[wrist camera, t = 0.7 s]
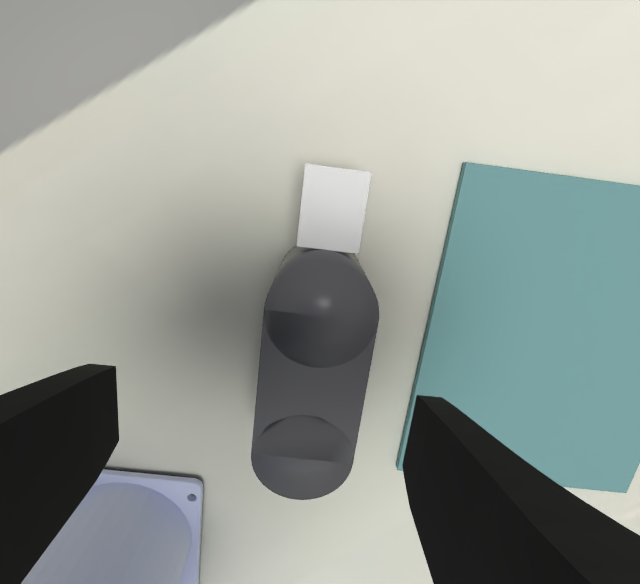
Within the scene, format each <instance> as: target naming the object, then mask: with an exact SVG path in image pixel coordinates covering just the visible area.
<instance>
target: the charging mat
mask: <svg viewBox="0 0 640 584" xmlns="http://www.w3.org/2000/svg"><path fill="white" fill-rule="evenodd" d="M417 395H423V396H434V397H442V398H444V399H445V400H447V401H448V402H450V403H451V404H452V405H454V406H455V407H456V408H458V409H459V410H460V411H462V412H463V413H464V414H466V415H467V416H468V417H469V418H471V419H472V420H473V421H474V422H476V423H477V424H478V425H480V426H481V427H482V428H483V429H485V430H486V431H487V432H488V433H490V434H491V435H492V436H494V437H495V438H496V439H497V440H499V441H500V442H501V443H503V444H504V445H505V446H506V447H508V448H509V449H510V450H512V451H513V452H514V453H516V454H517V455H518V456H520V457H521V458H522V459H524V460H525V461H526V462H528V463H529V464H531V465H532V466H533V467H535V468H536V469H537V470H539V471H540V472H542V473H543V474H545V475H546V476H547V477H549V478H550V479H552V480H553V481H555V482H556V483H557V484H559V485H560V486H562V487H570V488H580V489H590V490H600V491H610V492H620V493H627V490H628V488H629V486H630V483H631V481H632V479H633V477H634V474H635V472H636V470H637V468H638V465H639V463H640V186H637V185H630V184H622V183H615V182H607V181H600V180H593V179H585V178H578V177H571V176H563V175H556V174H548V173H541V172H534V171H526V170H519V169H512V168H504V167H497V166H489V165H482V164H475V163H467V162H466V163H463V165H462V170H461V174H460V179H459V183H458V188H457V192H456V197H455V201H454V206H453V210H452V215H451V220H450V224H449V229H448V233H447V238H446V242H445V247H444V251H443V256H442V260H441V265H440V269H439V274H438V278H437V283H436V287H435V292H434V296H433V301H432V305H431V310H430V314H429V319H428V323H427V328H426V332H425V337H424V341H423V346H422V350H421V355H420V360H419V364H418V369H417V373H416V378H415V382H414V387H413V391H412V396H411V400H410V405H409V409H408V414H407V418H406V423H405V427H404V432H403V436H402V441H401V445H400V450H399V454H398V459H397V463H396V466H397V470H400V471H403V466H402V464H403V459H404V454H405V449H406V445H407V440H408V435H409V430H410V425H411V421H412V416H413V411H414V406H415V401H416V396H417Z"/></svg>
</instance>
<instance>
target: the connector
mask: <svg viewBox="0 0 640 584" xmlns="http://www.w3.org/2000/svg"><path fill="white" fill-rule="evenodd" d="M371 173H372V172H367V171H359V170H352V169H344V168H337V167H329V166H321V165H314V164H306V163H305V171H304V180H303V189H302V199H301V208H300V217H299V226H298V235H297V245H296V246H295V247H293V248H292V249H291V250H290V251H289V252H288V253H287V255H286V256H285V258H284V259H283V261H282V263H281V266H280V268H279V270H278V272H277V275H276V277H275V279H274V282H273V284H272V286H271V288H270V291H269V293H268V295H267V298H266V302H265V307H264V316H263V328H262V339H261V350H260V362H259V373H258V384H257V396H256V407H255V418H254V429H253V441H252V452H251V461H252V466H253V469H254V472H255V474H256V476H257V477H258V479H259V480H260V481H261V482H262V484H263V485H264V486H266V487H267V488H268V489H269V490H271V491H272V492H274V493H276V494H278V495H281V496H283V497H287V498H290V499H297V500H307V499H315V498H319V497H322V496H325V495H327V494H329V493H331V492H333V491H334V490H336V489H337V488H338V487H339V486H340V485H342V484H343V482H344V481H345V480H346V479H347V477H348V475H349V473H350V471H351V468H352V465H353V459H354V454H355V448H356V443H357V437H358V432H359V426H360V421H361V415H362V410H363V404H364V399H365V393H366V388H367V382H368V377H369V371H370V366H371V360H372V355H373V349H374V344H375V338H376V333H377V327H378V321H379V306H378V301H377V298H376V295H375V293H374V291H373V288H372V287H371V285H370V283H369V281H368V279H367V277H366V275H365V273H364V271H363V269H362V267H361V265H360V263H359V261H358V259H357V258H356V256H355V255H354V253H356V254H359V249H360V243H361V236H362V230H363V224H364V217H365V211H366V205H367V198H368V192H369V185H370V179H371Z"/></svg>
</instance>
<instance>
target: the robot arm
mask: <svg viewBox="0 0 640 584" xmlns="http://www.w3.org/2000/svg"><path fill="white" fill-rule="evenodd" d="M118 441H119V428H118V406H117V383H116V366H107V365H97V364H87V365H83V366H79V367H76V368H73V369H70V370H67V371H64V372H61V373H58V374H56V375H53V376H50V377H47V378H45V379H42V380H39V381H37V382H34V383H31V384H29V385H26V386H24V387H21V388H18V389H16V390H13V391H10V392H8V393H5V394H2V395H0V584H199V566H200V545H201V523H202V501H203V483H202V482H201V481H200V480H199V479H196V478H187V477H177V476H167V475H156V474H146V473H136V472H125V471H115V470H105V469H104V467H105V465H106V463H107V462H108V460H109V458H110V456H111V454H112V452H113V450H114V449H115V447H116V445H117V443H118ZM402 466H403V472H404V478H405V484H406V489H407V495H408V500H409V505H410V509H411V512H412V515H413V519H414V522H415V525H416V529H417V532H418V535H419V538H420V542H421V545H422V548H423V551H424V554H425V557H426V561H427V564H428V567H429V570H430V573H431V576H432V580H433V583H434V584H640V536H639V535H638V534H636V533H634V532H633V531H631V530H629V529H627V528H626V527H624V526H623V525H621V524H619V523H618V522H616V521H615V520H613V519H611V518H610V517H608V516H607V515H605V514H603V513H602V512H600V511H599V510H597V509H595V508H594V507H592V506H590V505H589V504H587V503H586V502H584V501H583V500H581V499H580V498H578V497H577V496H575V495H574V494H572V493H570V492H569V491H567V490H566V489H565V488H563V487H562V486H560V485H559V484H557V483H556V482H555V481H553V480H552V479H550V478H549V477H547V476H546V475H545V474H543V473H542V472H540V471H539V470H537V469H536V468H535V467H533V466H532V465H531V464H529V463H528V462H526V461H525V460H524V459H522V458H521V457H520V456H518V455H517V454H516V453H514V452H513V451H512V450H510V449H509V448H508V447H506V446H505V445H504V444H503V443H501V442H500V441H499V440H497V439H496V438H495V437H494V436H492V435H491V434H490V433H488V432H487V431H486V430H485V429H483V428H482V427H481V426H480V425H478V424H477V423H476V422H474V421H473V420H472V419H471V418H469V417H468V416H467V415H466V414H464V413H463V412H462V411H460V410H459V409H458V408H456V407H455V406H454V405H452V404H451V403H450V402H448V401H447V400H445V399H444V398H442V397H434V396H423V395H417V396H416V401H415V406H414V411H413V416H412V421H411V425H410V430H409V435H408V440H407V445H406V449H405V454H404V459H403V464H402ZM191 494H194V495H195V496H193V495H191Z"/></svg>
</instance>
